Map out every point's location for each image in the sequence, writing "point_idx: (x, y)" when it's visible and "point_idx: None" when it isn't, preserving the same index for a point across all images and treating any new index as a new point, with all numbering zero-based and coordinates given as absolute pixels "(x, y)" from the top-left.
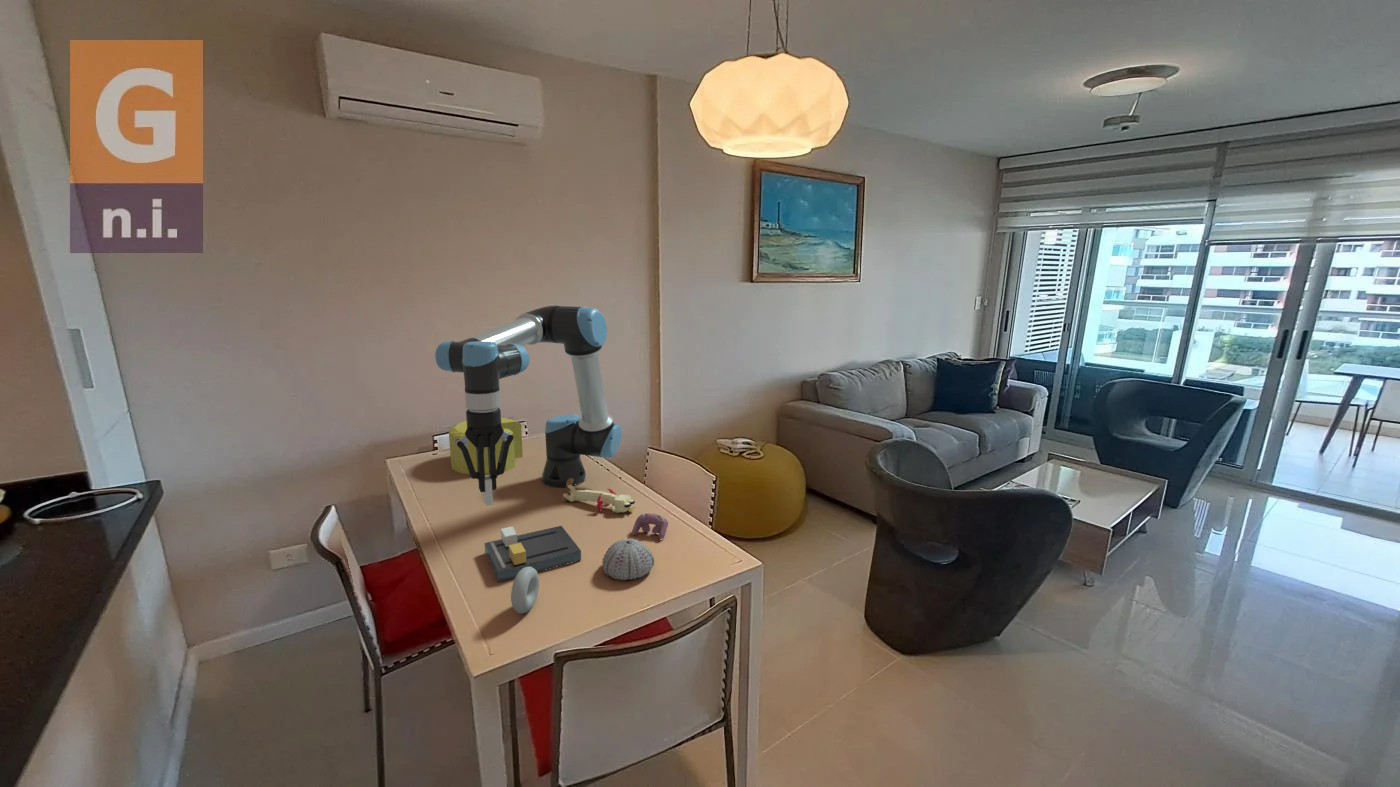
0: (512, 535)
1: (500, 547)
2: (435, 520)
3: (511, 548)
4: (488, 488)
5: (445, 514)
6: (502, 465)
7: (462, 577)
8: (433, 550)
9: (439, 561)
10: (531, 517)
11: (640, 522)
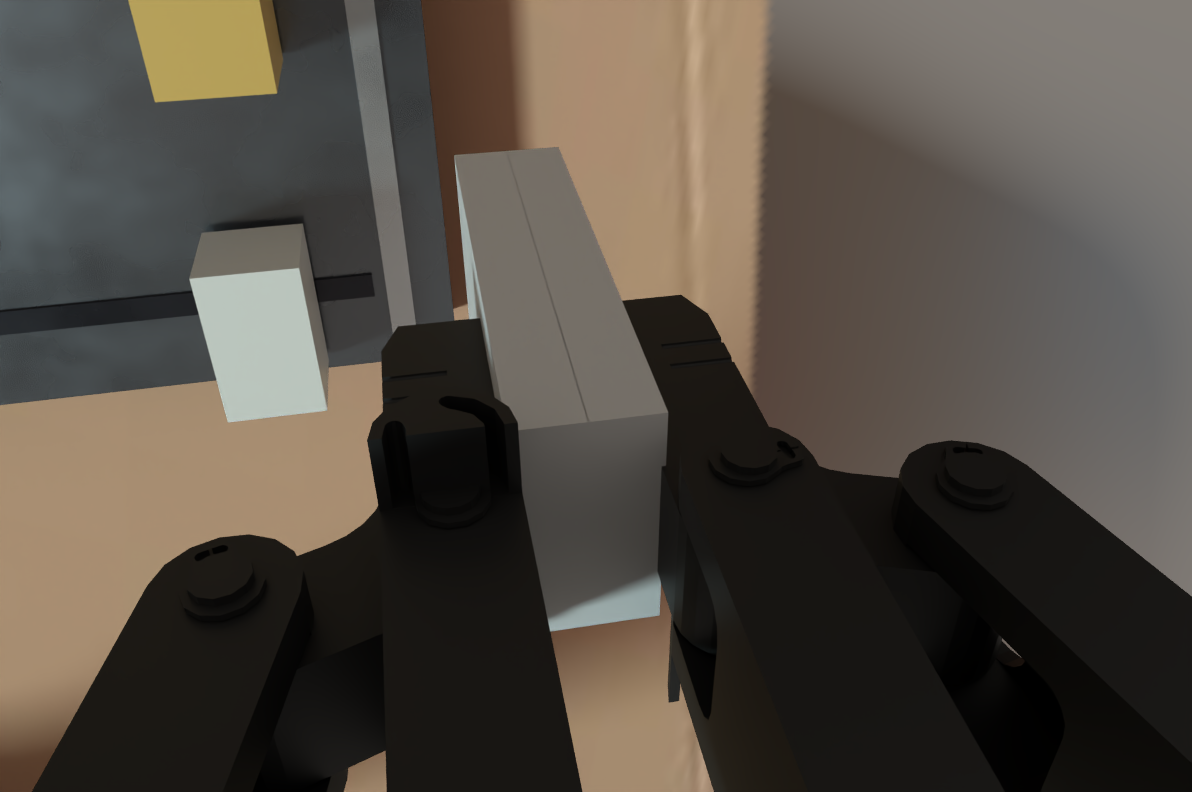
0: (232, 272)
1: (346, 246)
2: (661, 726)
3: (252, 16)
4: (560, 299)
5: (604, 769)
6: (142, 779)
7: (642, 41)
8: None
9: (732, 310)
10: (100, 658)
11: None
